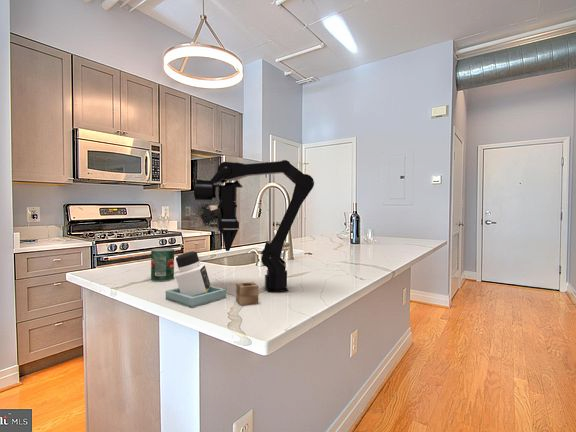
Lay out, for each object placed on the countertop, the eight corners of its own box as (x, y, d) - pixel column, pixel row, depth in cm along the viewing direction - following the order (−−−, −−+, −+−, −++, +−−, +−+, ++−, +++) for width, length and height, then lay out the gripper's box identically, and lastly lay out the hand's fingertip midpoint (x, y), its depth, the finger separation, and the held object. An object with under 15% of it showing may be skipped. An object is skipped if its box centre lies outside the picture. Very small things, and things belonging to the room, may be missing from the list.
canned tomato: (148, 278, 114) (148, 248, 114) (170, 276, 119) (170, 247, 119) (153, 282, 108) (154, 251, 107) (176, 280, 112) (177, 249, 112)
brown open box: (252, 298, 91) (253, 281, 91) (258, 303, 86) (258, 285, 86) (236, 300, 89) (236, 283, 89) (240, 305, 84) (240, 287, 84)
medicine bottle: (207, 292, 87) (195, 251, 87) (182, 299, 87) (169, 258, 86) (211, 286, 94) (200, 248, 94) (187, 292, 94) (176, 254, 93)
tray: (199, 290, 99) (200, 283, 99) (226, 297, 92) (226, 289, 91) (165, 299, 89) (165, 290, 89) (191, 307, 82) (192, 298, 82)
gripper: (202, 201, 109) (202, 245, 109) (200, 200, 90) (200, 253, 91) (235, 202, 111) (234, 245, 112) (239, 201, 93) (238, 253, 93)
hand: (226, 249), depth 102 cm, fingers open, 9 cm apart
